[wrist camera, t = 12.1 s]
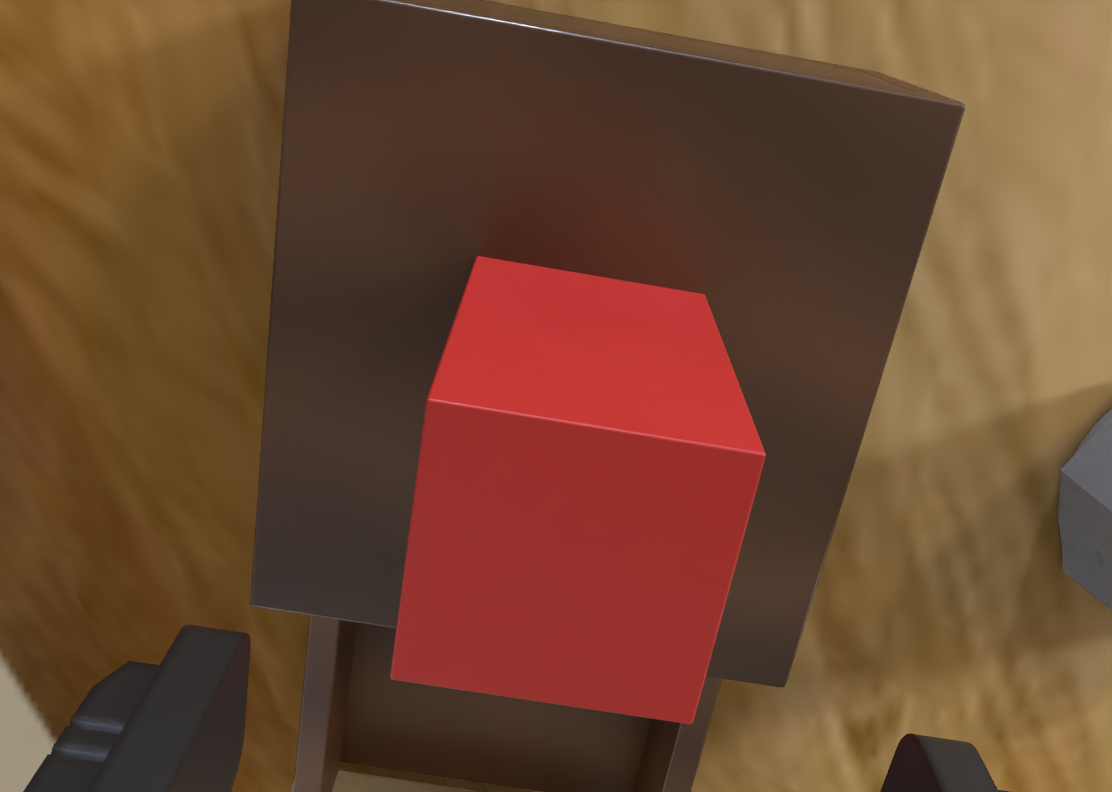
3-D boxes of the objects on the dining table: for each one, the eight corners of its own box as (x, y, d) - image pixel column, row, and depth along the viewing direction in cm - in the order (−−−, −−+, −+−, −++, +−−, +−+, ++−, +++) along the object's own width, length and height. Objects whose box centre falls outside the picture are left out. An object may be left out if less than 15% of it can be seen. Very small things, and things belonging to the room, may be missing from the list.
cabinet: (746, 554, 33) (785, 689, 27) (311, 484, 32) (248, 607, 26) (880, 72, 27) (968, 104, 21) (357, -23, 26) (291, -19, 20)
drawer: (632, 930, 38) (640, 1060, 33) (288, 881, 37) (248, 1007, 33) (750, 500, 31) (778, 590, 26) (331, 432, 30) (289, 512, 26)
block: (446, 462, 24) (389, 680, 17) (476, 255, 22) (425, 398, 15) (658, 496, 25) (693, 726, 17) (705, 294, 23) (767, 454, 15)
